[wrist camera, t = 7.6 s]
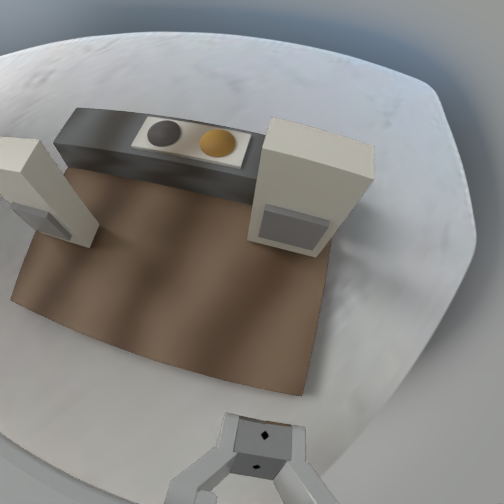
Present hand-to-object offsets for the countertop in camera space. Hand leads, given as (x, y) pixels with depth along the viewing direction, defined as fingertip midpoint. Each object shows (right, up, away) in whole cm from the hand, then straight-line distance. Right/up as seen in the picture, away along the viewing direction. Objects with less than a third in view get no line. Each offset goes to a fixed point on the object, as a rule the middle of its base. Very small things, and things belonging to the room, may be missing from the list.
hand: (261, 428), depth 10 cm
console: (-6, +8, +13) cm, 16 cm away
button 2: (-14, +8, +11) cm, 20 cm away
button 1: (+2, +7, +12) cm, 14 cm away
